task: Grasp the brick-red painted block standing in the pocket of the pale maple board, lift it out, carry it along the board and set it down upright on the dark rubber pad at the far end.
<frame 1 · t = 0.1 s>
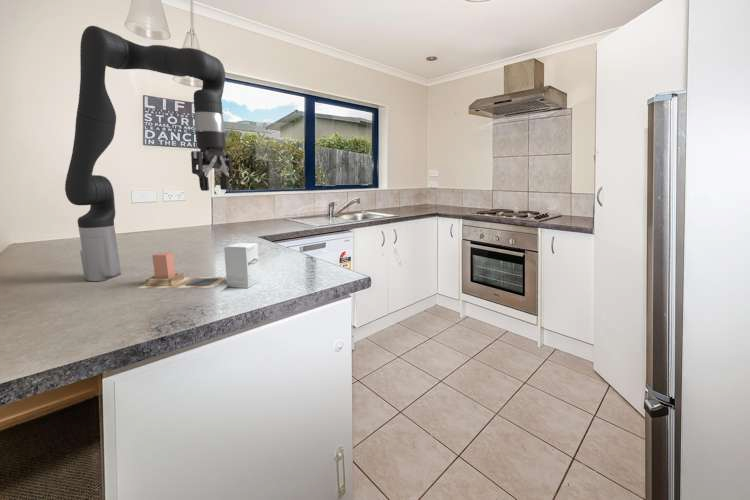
hand: (215, 190, 104), 29 cm above the worktop, fingers open, 8 cm apart
supplement box: (244, 285, 112), on the worktop
block: (166, 282, 111), point 1 cm above the worktop, touching board
board: (184, 285, 111), on the worktop
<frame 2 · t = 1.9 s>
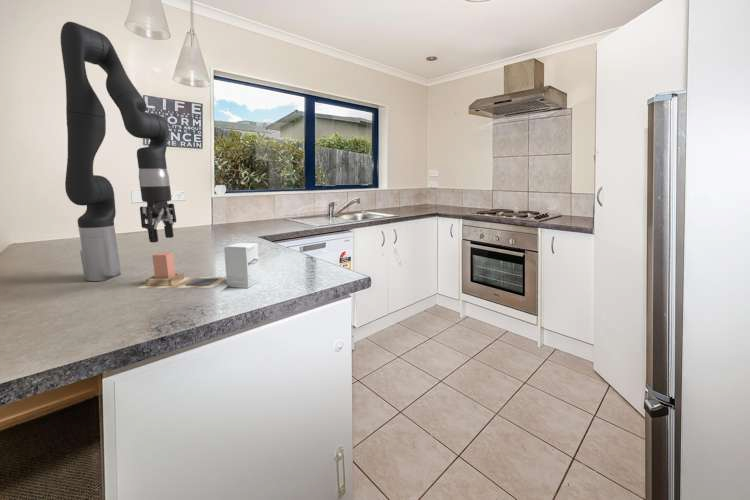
hand: (162, 239, 108), 14 cm above the worktop, fingers open, 8 cm apart
nothing on the worktop moved.
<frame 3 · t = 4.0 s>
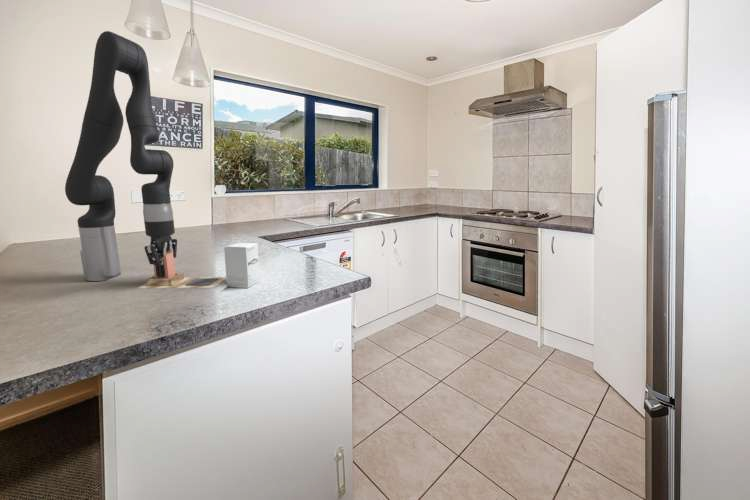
hand: (165, 274, 110), 3 cm above the worktop, fingers closed on block, 4 cm apart
block: (166, 282, 111), point 1 cm above the worktop, touching board, gripper
everything else where it was.
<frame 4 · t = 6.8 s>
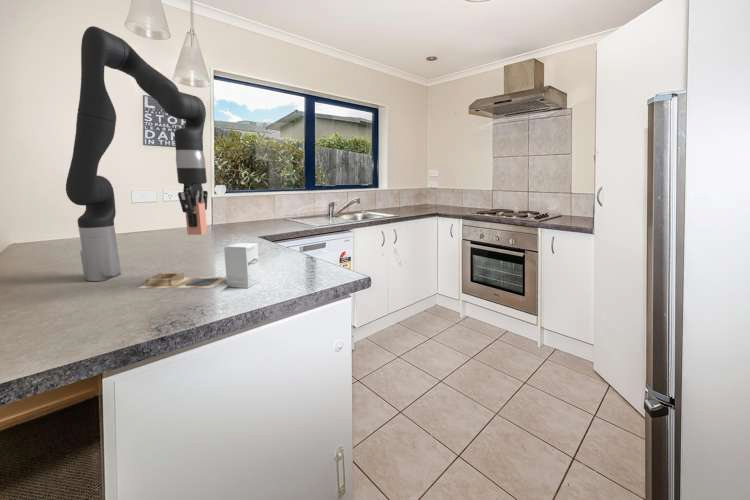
hand: (196, 225, 108), 19 cm above the worktop, fingers closed on block, 4 cm apart
block: (197, 233, 108), point 16 cm above the worktop, touching gripper
everything else where it was.
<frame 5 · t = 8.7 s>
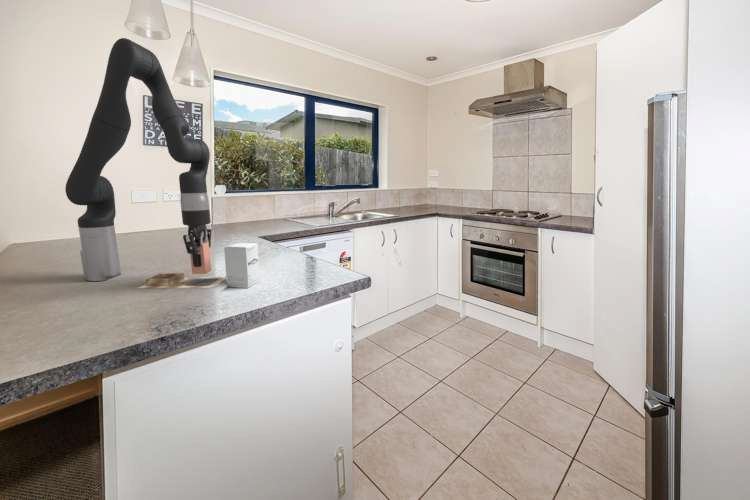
hand: (201, 264, 110), 7 cm above the worktop, fingers closed on block, 4 cm apart
block: (201, 272, 110), point 4 cm above the worktop, touching gripper
everything else where it was.
when the fingers open (5 cm above the worktop, at t = 10.0 s): block stays where it is, resting on board.
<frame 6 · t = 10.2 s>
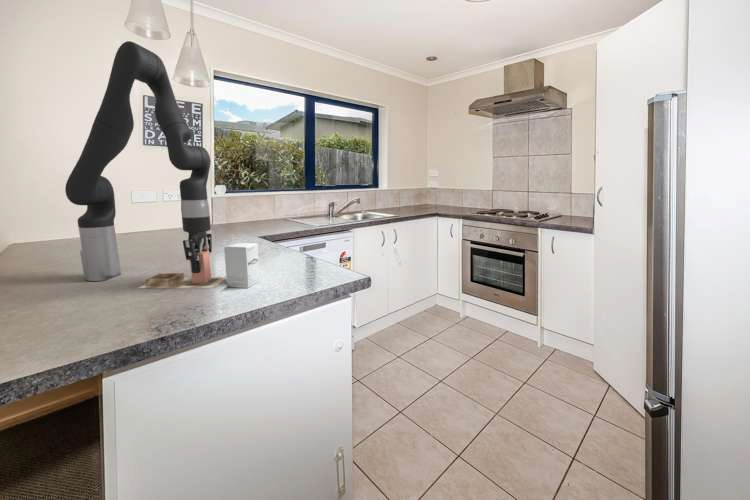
hand: (201, 270, 110), 5 cm above the worktop, fingers open, 5 cm apart
block: (202, 281, 111), point 1 cm above the worktop, touching board
everything else where it was.
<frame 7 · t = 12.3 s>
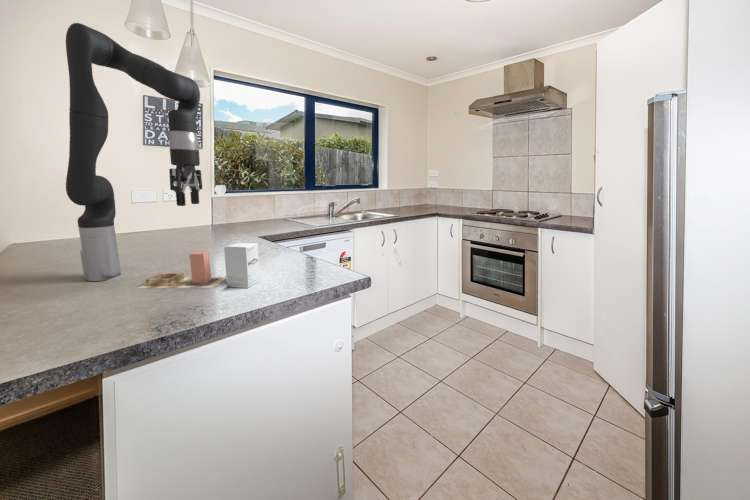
hand: (188, 204, 108), 25 cm above the worktop, fingers open, 8 cm apart
nothing on the worktop moved.
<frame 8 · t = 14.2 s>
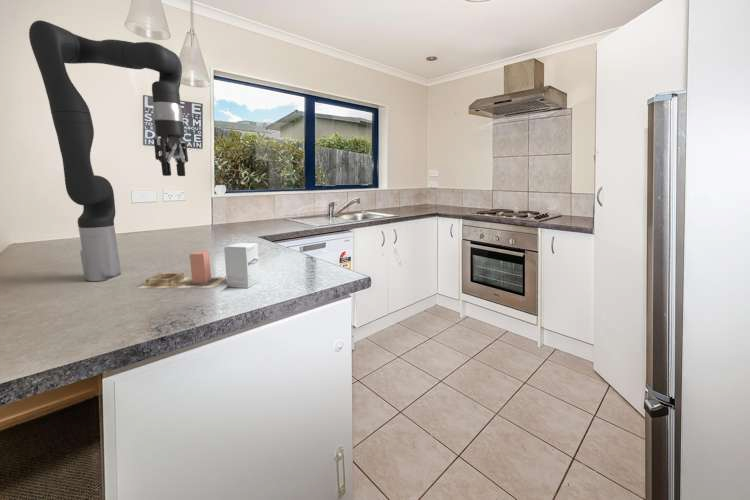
hand: (174, 175, 110), 33 cm above the worktop, fingers open, 8 cm apart
nothing on the worktop moved.
at the end: block inside the target area (0.0 cm from its centre), point 1.3 cm above the worktop; block tilted 0°; the gripper is holding nothing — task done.
